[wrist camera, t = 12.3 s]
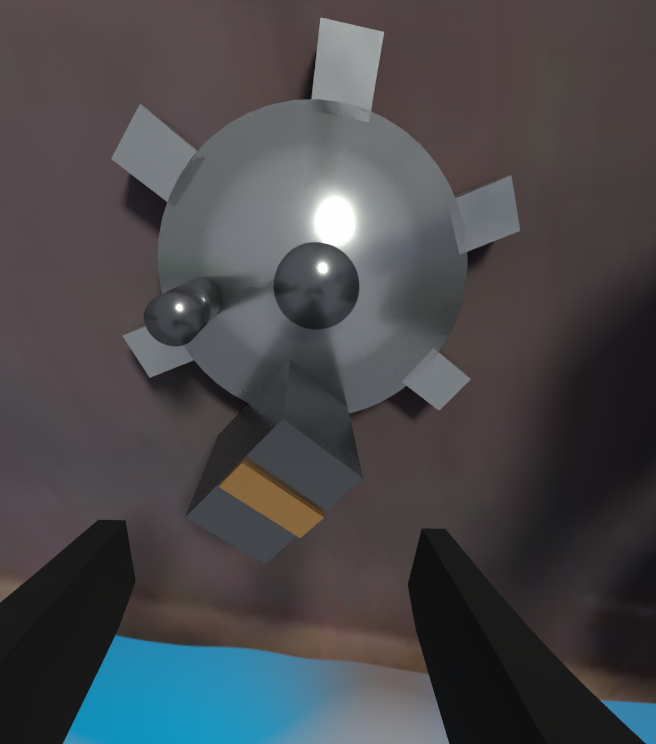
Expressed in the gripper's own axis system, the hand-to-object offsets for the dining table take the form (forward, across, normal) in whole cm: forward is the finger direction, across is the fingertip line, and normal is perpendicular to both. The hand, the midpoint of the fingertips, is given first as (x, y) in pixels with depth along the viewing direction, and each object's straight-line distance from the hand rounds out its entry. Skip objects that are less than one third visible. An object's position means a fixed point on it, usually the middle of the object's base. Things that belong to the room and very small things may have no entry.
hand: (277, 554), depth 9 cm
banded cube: (+8, 0, +1) cm, 8 cm away
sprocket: (+9, -1, -5) cm, 11 cm away
